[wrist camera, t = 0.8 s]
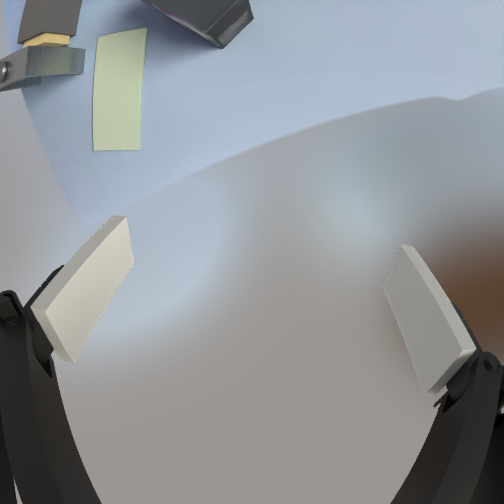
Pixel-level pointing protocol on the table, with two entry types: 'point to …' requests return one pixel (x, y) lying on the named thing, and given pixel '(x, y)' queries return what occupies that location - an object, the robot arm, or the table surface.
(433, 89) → the table surface
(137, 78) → the mat
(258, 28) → the table surface
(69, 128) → the table surface
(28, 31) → the plug
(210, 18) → the small box
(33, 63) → the frame
